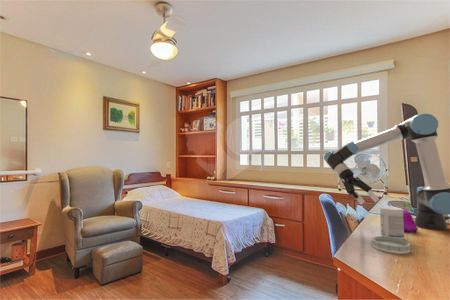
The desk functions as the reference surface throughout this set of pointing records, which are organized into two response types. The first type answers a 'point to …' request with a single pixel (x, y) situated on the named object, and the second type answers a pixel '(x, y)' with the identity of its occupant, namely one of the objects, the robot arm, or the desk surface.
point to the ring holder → (391, 244)
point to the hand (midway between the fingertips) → (370, 201)
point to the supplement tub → (392, 222)
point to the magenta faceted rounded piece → (408, 221)
